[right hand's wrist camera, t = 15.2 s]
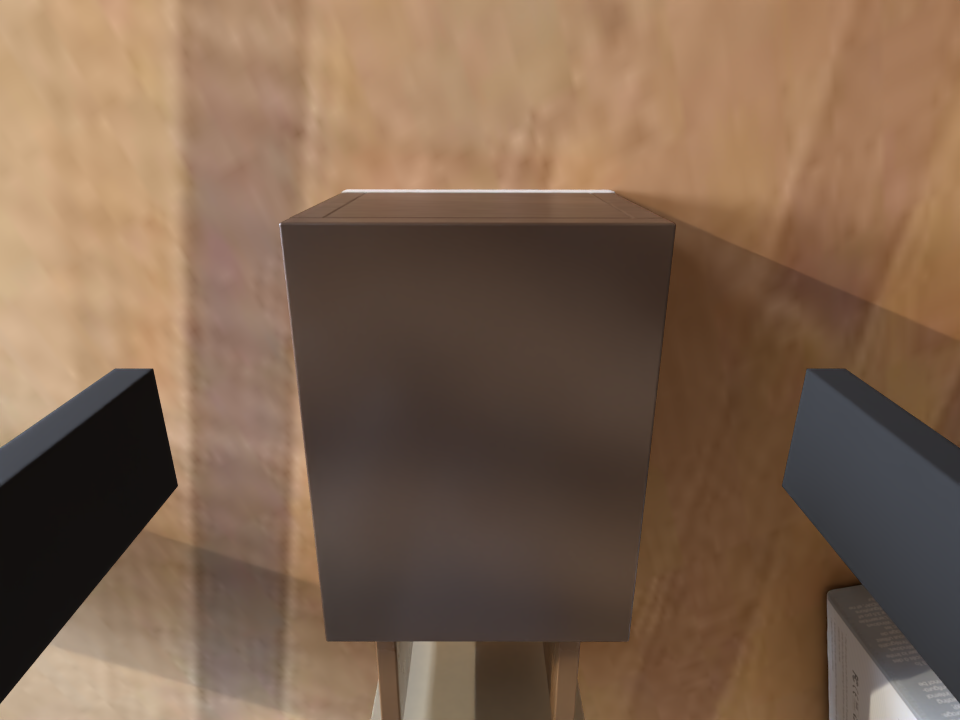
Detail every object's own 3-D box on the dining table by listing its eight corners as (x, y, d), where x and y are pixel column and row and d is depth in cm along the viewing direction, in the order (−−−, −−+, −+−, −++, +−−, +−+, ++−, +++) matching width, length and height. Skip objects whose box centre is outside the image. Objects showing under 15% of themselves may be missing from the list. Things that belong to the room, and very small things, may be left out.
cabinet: (587, 497, 30) (629, 643, 22) (369, 497, 30) (325, 642, 22) (610, 189, 25) (677, 222, 17) (346, 189, 25) (277, 222, 17)
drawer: (563, 727, 34) (583, 872, 28) (393, 727, 34) (372, 872, 28) (583, 423, 28) (616, 517, 21) (372, 422, 28) (338, 517, 21)
